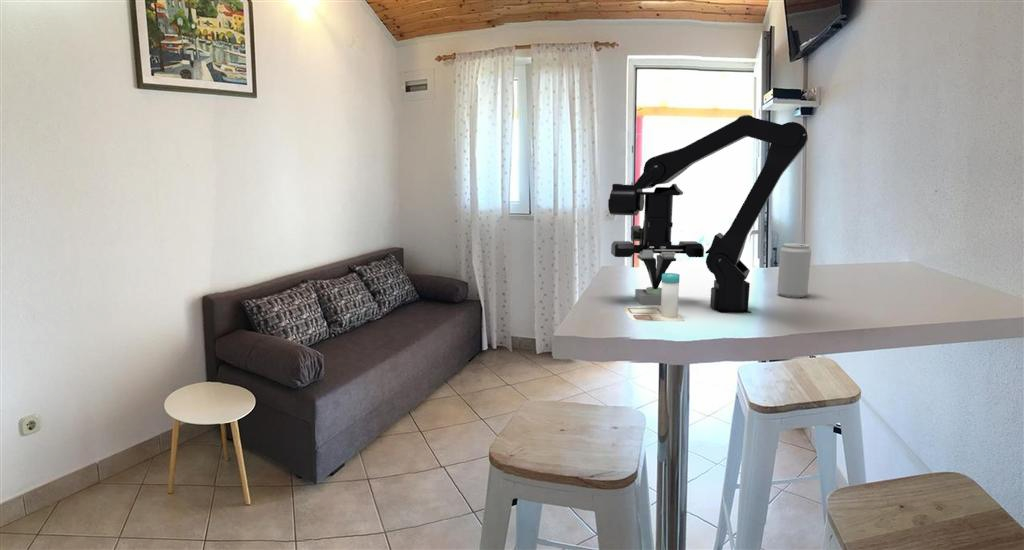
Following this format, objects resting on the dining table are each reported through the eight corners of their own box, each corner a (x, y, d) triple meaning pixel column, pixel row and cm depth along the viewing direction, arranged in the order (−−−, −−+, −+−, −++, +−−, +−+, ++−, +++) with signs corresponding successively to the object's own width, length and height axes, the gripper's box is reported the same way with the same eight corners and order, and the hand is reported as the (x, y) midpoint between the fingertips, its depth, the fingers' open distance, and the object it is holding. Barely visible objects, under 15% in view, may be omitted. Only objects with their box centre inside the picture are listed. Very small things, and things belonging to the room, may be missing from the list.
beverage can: (810, 299, 135) (815, 246, 133) (780, 297, 137) (784, 245, 135) (803, 293, 142) (807, 243, 139) (774, 292, 143) (778, 242, 141)
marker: (675, 313, 119) (677, 273, 118) (679, 317, 116) (681, 276, 114) (658, 313, 119) (660, 273, 118) (662, 317, 116) (664, 276, 114)
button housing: (666, 300, 134) (666, 289, 133) (674, 307, 127) (674, 295, 127) (634, 300, 134) (635, 289, 133) (641, 307, 127) (641, 295, 127)
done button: (660, 298, 132) (661, 287, 132) (664, 301, 129) (665, 290, 128) (644, 298, 132) (644, 286, 132) (647, 301, 129) (648, 290, 128)
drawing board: (672, 307, 126) (672, 305, 126) (691, 324, 113) (691, 321, 113) (615, 307, 127) (615, 305, 126) (628, 324, 113) (628, 321, 113)
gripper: (691, 213, 135) (687, 281, 138) (608, 213, 135) (606, 281, 138) (706, 217, 124) (702, 291, 127) (616, 217, 124) (614, 291, 127)
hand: (654, 288), depth 130 cm, fingers closed, pressing on done button
